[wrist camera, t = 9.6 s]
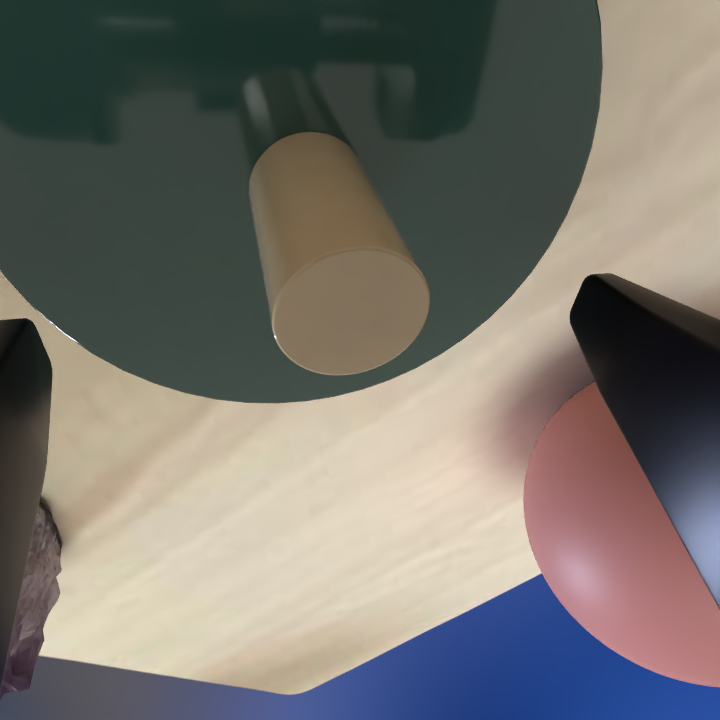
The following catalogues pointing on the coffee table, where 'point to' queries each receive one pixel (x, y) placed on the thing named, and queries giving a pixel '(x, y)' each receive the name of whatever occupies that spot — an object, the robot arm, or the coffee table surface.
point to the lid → (286, 178)
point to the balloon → (616, 547)
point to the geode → (34, 603)
